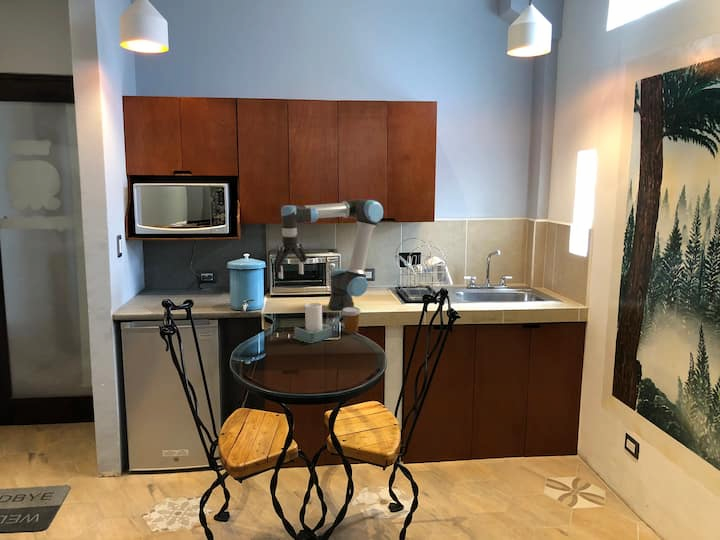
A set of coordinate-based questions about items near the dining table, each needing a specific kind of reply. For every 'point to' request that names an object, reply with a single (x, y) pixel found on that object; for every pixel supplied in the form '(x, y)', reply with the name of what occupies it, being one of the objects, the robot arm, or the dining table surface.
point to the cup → (313, 317)
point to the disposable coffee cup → (351, 319)
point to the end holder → (314, 334)
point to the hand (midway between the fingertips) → (291, 276)
